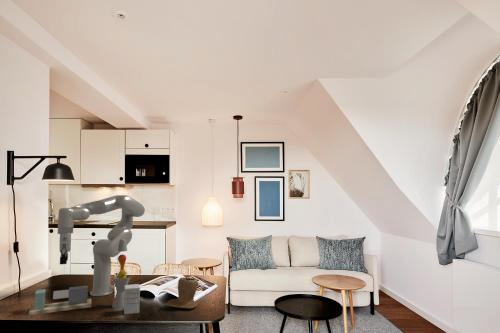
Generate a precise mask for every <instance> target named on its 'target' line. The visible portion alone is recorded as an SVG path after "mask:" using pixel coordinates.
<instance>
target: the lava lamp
mask: <svg viewBox="0 0 500 333" xmlns="http://www.w3.org/2000/svg"><path fill="white" fill-rule="evenodd" d="M118 251H119V252H120V253H121V252H127V251H128V245H127V244H126V239H120V242H119V247H118ZM126 260H127V256H126V255H125V254H123V253H122V254H119V255H118V257H117V261H118V263H119V265H120V267H119V271H118V275H114V276H112V280H113V283H114V284H113V285H115V287H116V289H115V291H116V293H115V295H114V298H113V302H112V305H111V307H112V308H113V309H124V287H125V285H129V281H130V279H131V275H128V274H127V271H126V270H125V265H126Z"/></svg>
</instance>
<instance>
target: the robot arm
mask: <svg viewBox="0 0 500 333" xmlns="http://www.w3.org/2000/svg"><path fill="white" fill-rule="evenodd" d="M120 209H121V219H120V220H119V222H118V223H117V224H116V225H114V226H113V227H112V229H110V230H109V232H108V233H107V236H106V237H107V239H99V240H97V241H96V242H95V243H94V244H93V247H92V252H93V254H92V255H93V282H92V284H93V285H92V290H91V291H90V292H89V295H90V296H92V297H103V296H107V295H108V296H109V295H111V294H113V292H114V290H115V289H114V285H112V284H111V277H112V276H111V275H112V273H111V272H112V258H114V257H117V256H119V255H120V254H121V252H119V251H118V247H119V242H120V239H126V244H127V246H128V245H129V244H130V242H131V240H132V239H133V231H132V230H131V229H132V228H133V225H134V218H140V217H142V216H144V215H145V210H146V209H145V207H144V205H143V204H142V203H140V202H139V201H137V200H136V199H134V198H133V197H131V196H130V195H126V194H125V195H123V194H117V195H113V196H109V197H106V198H103V199H99V200H94V201H91V202H90V201H89V202H85V203H82V204H78V205H77V204H76V205H74V206H71V207H61V208H59V210H58V214H57V215H58V217H57V218H58V219H57V234H58V235H59V253H60V257H59V265H67V263H68V259H69V253H70V252H71V246H72V245H71V242H72V234H74V221H85V220H88V219H89V218H90V216H92V215H103V214H107V213H110V212H113V211H116V210H120Z"/></svg>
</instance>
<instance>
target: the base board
mask: <svg viewBox="0 0 500 333" xmlns="http://www.w3.org/2000/svg"><path fill="white" fill-rule="evenodd" d="M92 304H93V303H92V298H88V300H87V303H85V304H77V305H69V306H68V301H61V302H60V301H59V302H52V303H45V306H44V309H42V310H34V305H31V306H30V307H29V310H28V316H32V315H33V316H34V315H41V314H48V313H49V314H50V313H56V312H63V311H71V310H79V309H80V310H81V309H87V308H92V306H93V305H92Z"/></svg>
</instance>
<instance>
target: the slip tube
mask: <svg viewBox="0 0 500 333" xmlns="http://www.w3.org/2000/svg"><path fill="white" fill-rule="evenodd" d="M52 293H53V294H52V299H53V300H59V299H67V298H68V299H69V289H62V290H61V289H60V290H54V291H53V292H52Z"/></svg>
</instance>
